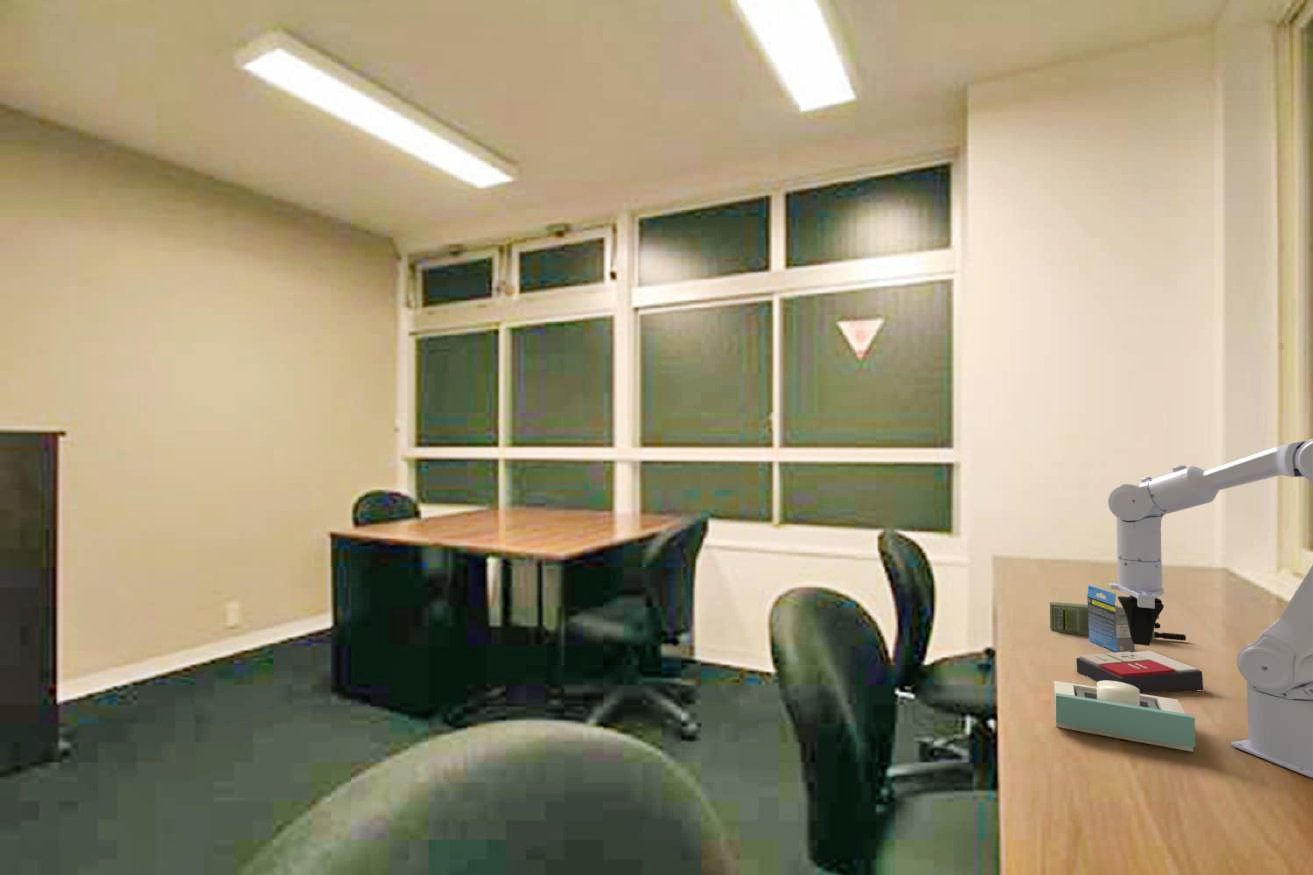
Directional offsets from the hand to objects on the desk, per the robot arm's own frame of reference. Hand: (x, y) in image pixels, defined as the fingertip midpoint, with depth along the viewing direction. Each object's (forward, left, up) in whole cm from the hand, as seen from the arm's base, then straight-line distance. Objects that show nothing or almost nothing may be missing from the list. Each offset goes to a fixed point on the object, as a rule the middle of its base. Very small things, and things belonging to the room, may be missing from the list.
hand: (1140, 643), depth 103 cm
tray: (-5, +10, -9) cm, 15 cm away
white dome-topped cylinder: (-5, +10, -8) cm, 14 cm away
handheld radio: (+33, -34, -11) cm, 48 cm away
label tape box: (+27, -25, -11) cm, 38 cm away
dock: (-4, +10, -10) cm, 15 cm away
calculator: (+10, -11, -11) cm, 19 cm away
